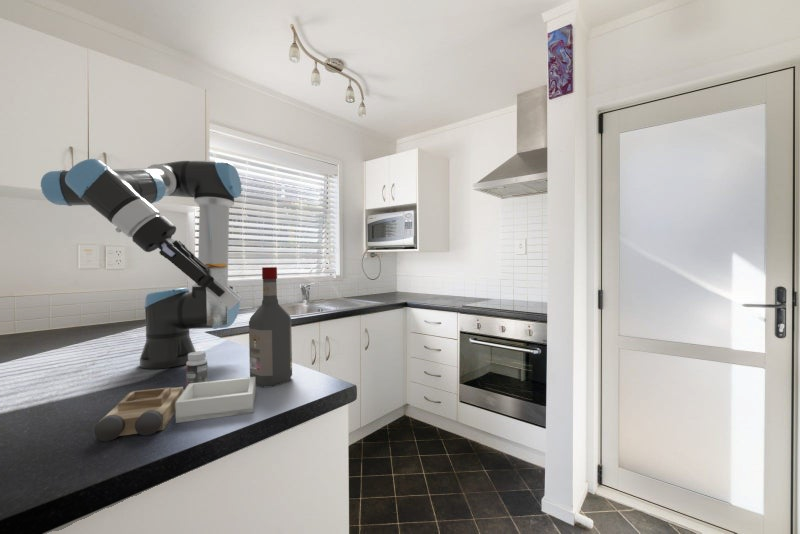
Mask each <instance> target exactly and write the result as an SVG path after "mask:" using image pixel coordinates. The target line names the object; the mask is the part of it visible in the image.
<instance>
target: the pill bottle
mask: <svg viewBox="0 0 800 534" xmlns="http://www.w3.org/2000/svg"><path fill="white" fill-rule="evenodd" d="M206 357H207V353H206V351H202V350H200V351H199V350H198V351H196V352H192V353H189V354H188V360H189V361H187V363H186V364H185V369H186V370H185V373H186V375H185V376H186V378H185V379H186V383H185V384H186V387H187V386H188V384H190V383H200V382H209V381H208V360H207V358H206Z"/></svg>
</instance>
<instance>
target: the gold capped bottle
mask: <svg viewBox="0 0 800 534" xmlns="http://www.w3.org/2000/svg"><path fill="white" fill-rule="evenodd" d="M206 272H207V273H208V274H209V275H210V276H211V277H213V278H214V281H215V280H218V281H219V282H220V283H221V284H222V285H223V286H225V287H226V288H227V264H206ZM206 288H207V287H206ZM206 304H207V325H209V326H215V325H224V324H227V323H228V320H227V307H226V306H225V305H224V304H223V303H222V302H220V301H219V300H218V299H217V298H216V297H215V296H213V295H212V294H211V293H210V292H209V291H207V290H206Z"/></svg>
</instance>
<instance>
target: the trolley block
mask: <svg viewBox="0 0 800 534" xmlns="http://www.w3.org/2000/svg"><path fill="white" fill-rule="evenodd" d="M183 391H184V386H179V387H171V386H170V387H168V386H167V387H161V388H152V389H151V388H150V389H141V390H133V391H132V390H131V392H129V393H128V394H127V395H126V396H125V397H124V398H123V399H121V400H120V401H119V402H118V403H117V405H116V406H114V408H112V409H111V410H110V411H109V412H108V413H107V414H105V415H104V416H103V417H102V418H101V419H100V420H99V421H98V422H97V424H96V425H95V427H94V430H93V435H94V436H95V437H96V438H97V439H98V440H99V441H103V442H110V441H113V440H115V439H117V438H118V437H121V436H129V435H130V436H131V435H136V434H139V435H141V436H150V435H153V434H155V433H157V432H158V431H163V430H165V428H166V426H167V425H168V424H169V422H170V420H171V419H172V417H174V415H175V414H176V408H175V403H176V401H177V400H178V398H179V397H180V396H181V394H182V393H183Z"/></svg>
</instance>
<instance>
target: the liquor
mask: <svg viewBox="0 0 800 534" xmlns="http://www.w3.org/2000/svg"><path fill="white" fill-rule="evenodd" d="M261 273H262V274H261V276H262V277H261V278H262V301H261V305H260V306H259V307H258V308H257V310H255V311H254V312H253V314H251V317H250V319H249V322H248V338H249V339H248V340H249V341H248V342H249V343H248V344H249V345H248V347H249V348H248V349H249V350H248V351H249V352H248V355H249V377H255V380H256V384H257V385H256V386H258V385H259V387H261V386H262V387H261V388H265V387H264V386H271V387H275V385H276V386H278V384H279V385H282V384H285V383H288V382H290V380H291V378H292V376H293V349H292V348H293V340H292V337H293V335H292V317H291V315H290V314H289V313H288V312H287V310H286V309H284V307H282V305H280V303H279V300H278V289H277V288H278V287H277V286H278V285H277V284H278V283H277V281H278V280H277V279H278V267H277V266H276V267H275V266H273V267H271V266H269V267H268V266H267V267H266V266H265V267H262V268H261ZM287 381H288V382H287ZM284 382H285V383H284ZM281 383H282V384H281Z"/></svg>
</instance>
